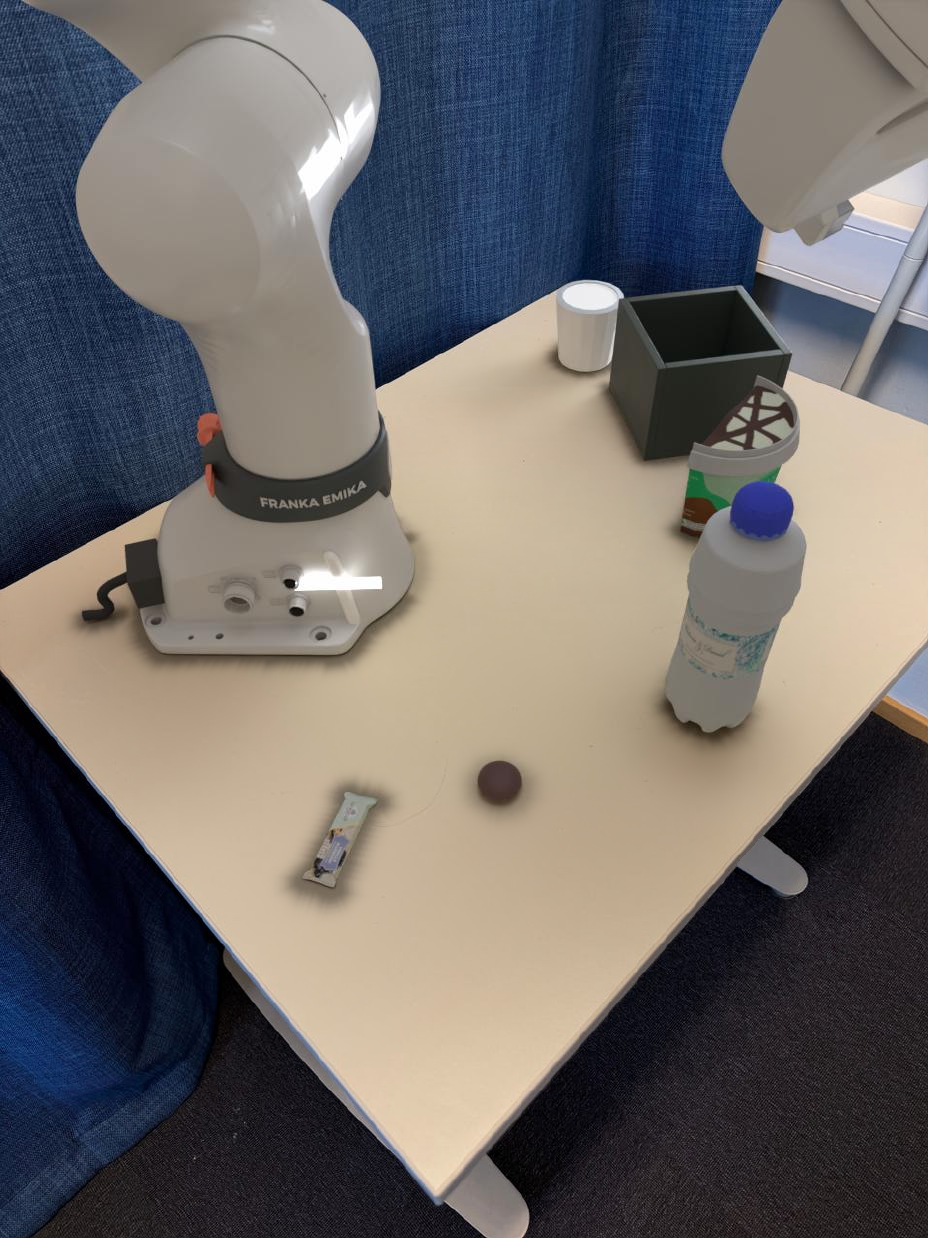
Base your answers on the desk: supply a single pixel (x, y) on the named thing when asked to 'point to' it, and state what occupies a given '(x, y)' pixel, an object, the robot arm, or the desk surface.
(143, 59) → the robot arm
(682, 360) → the bin
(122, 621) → the desk surface
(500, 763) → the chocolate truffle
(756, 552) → the bottle
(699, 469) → the food container
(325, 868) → the granola bar
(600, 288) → the white cylinder
